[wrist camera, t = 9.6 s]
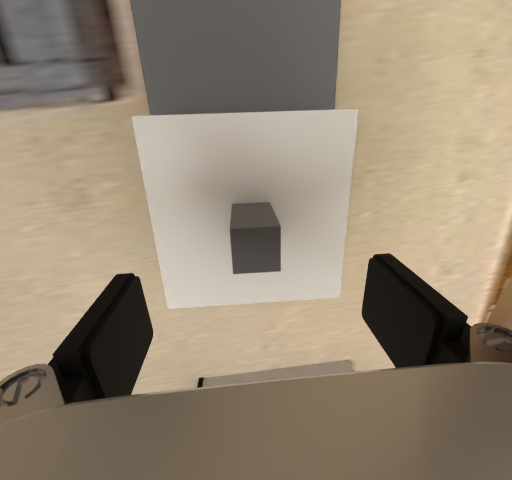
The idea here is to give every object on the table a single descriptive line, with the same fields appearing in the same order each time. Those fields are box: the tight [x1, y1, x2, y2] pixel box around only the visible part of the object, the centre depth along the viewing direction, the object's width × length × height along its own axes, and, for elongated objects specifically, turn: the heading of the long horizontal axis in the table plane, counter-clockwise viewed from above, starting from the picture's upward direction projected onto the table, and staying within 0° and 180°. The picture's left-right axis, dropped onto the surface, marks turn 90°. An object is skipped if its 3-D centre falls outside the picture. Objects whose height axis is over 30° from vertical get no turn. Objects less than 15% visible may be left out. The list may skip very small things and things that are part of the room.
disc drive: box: [198, 360, 354, 388], centre depth 41 cm, size 18×22×5 cm
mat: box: [130, 0, 341, 116], centre depth 23 cm, size 18×18×1 cm
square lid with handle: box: [131, 109, 359, 309], centre depth 19 cm, size 16×16×7 cm
